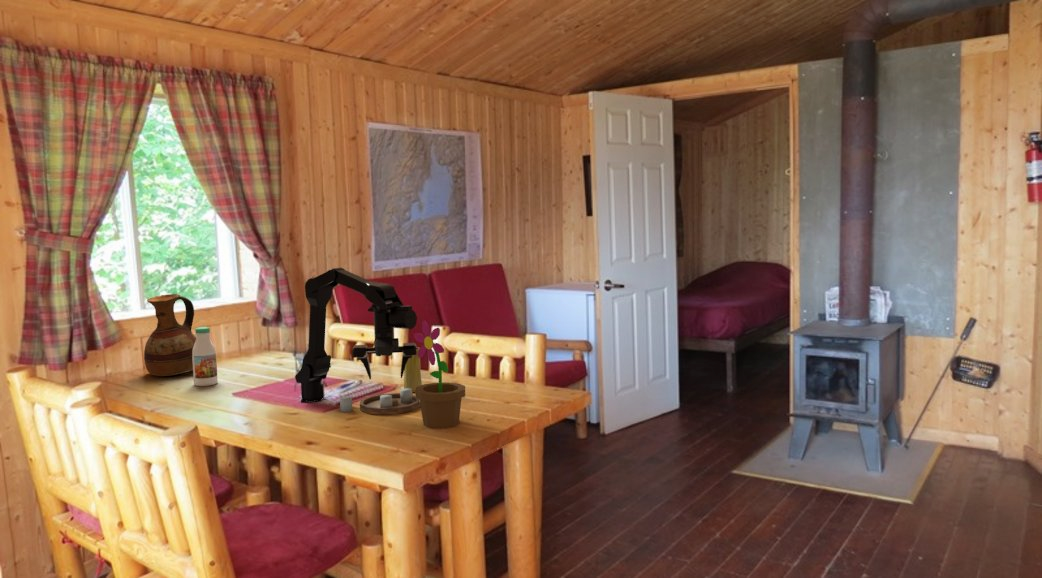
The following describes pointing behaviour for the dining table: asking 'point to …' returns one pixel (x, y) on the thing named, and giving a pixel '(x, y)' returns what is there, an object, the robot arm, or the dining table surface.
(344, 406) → the bead
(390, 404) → the bead
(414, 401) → the tray
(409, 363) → the vase
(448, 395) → the flowerpot
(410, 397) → the bead seated
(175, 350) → the ceramic pitcher
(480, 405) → the dining table surface
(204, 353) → the milk bottle
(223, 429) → the dining table surface
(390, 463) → the dining table surface
